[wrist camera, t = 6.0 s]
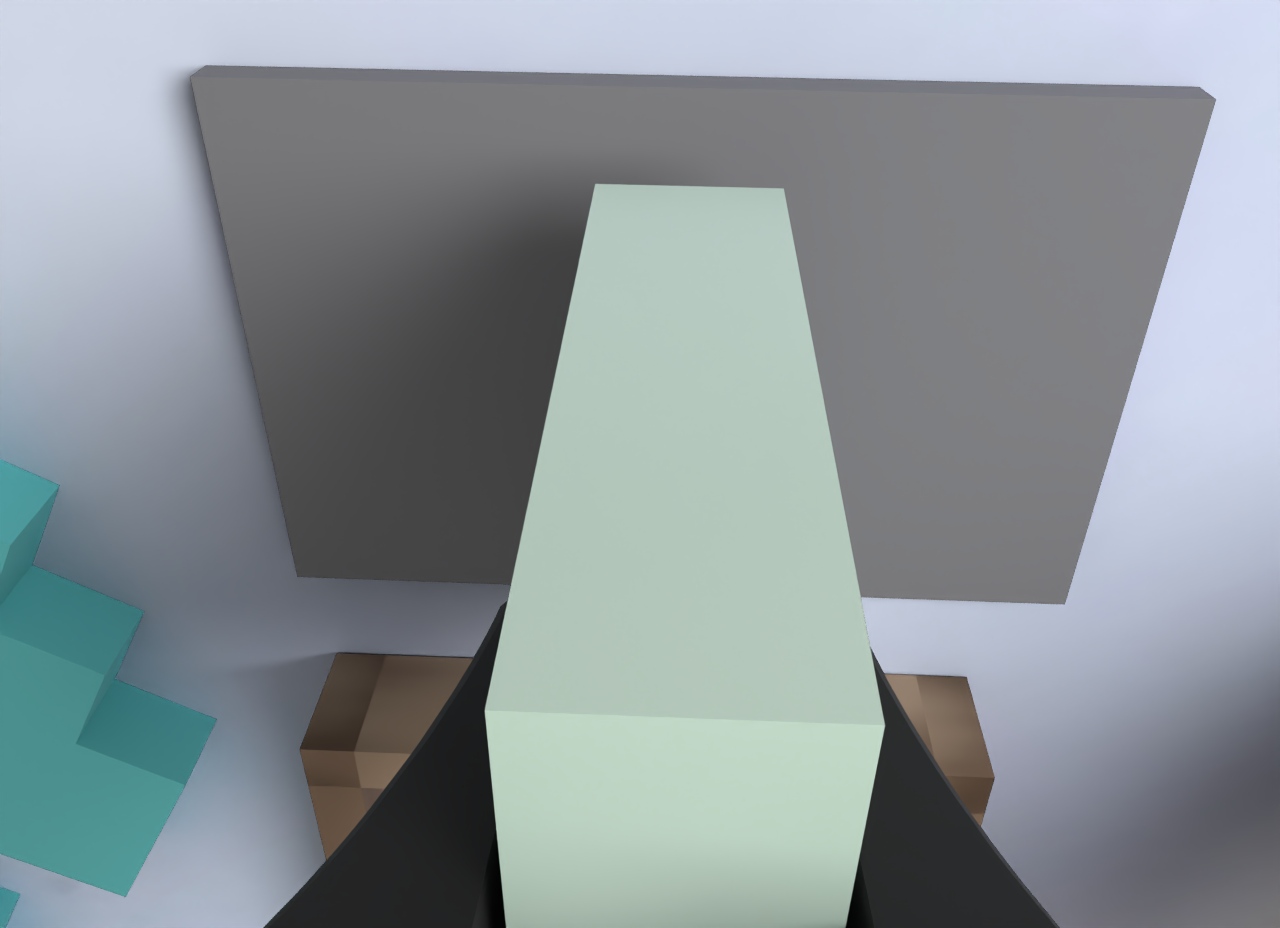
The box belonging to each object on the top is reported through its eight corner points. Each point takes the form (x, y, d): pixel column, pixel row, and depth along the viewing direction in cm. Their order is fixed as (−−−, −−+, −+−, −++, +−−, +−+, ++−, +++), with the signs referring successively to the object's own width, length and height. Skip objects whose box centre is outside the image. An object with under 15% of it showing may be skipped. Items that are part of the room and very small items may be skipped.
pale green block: (783, 187, 14) (886, 725, 7) (744, 648, 19) (777, 1276, 11) (595, 184, 14) (484, 710, 7) (601, 643, 19) (539, 1263, 11)
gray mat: (1199, 87, 15) (1216, 99, 15) (1056, 582, 20) (1064, 604, 20) (206, 65, 16) (190, 76, 15) (307, 556, 21) (297, 576, 20)
